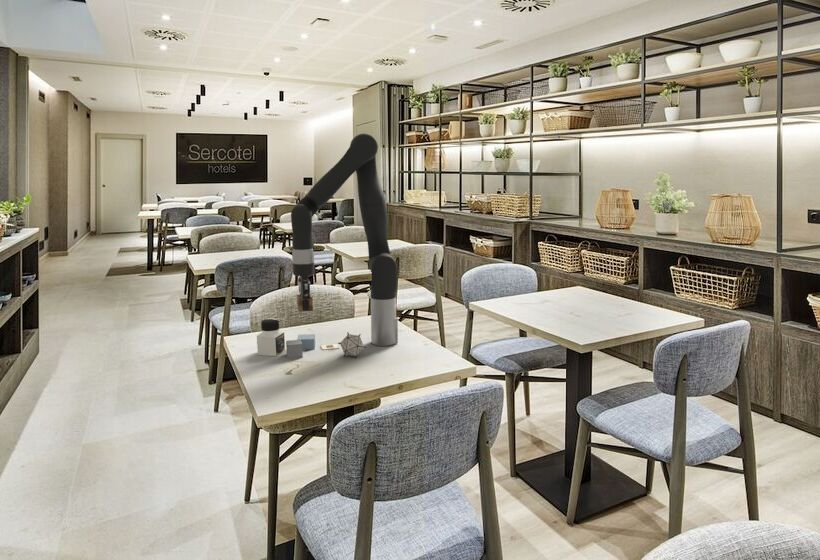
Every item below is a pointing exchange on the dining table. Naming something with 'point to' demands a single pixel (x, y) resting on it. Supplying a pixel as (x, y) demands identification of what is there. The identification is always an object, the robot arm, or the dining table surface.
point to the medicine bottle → (270, 338)
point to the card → (329, 346)
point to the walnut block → (299, 303)
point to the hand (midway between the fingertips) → (305, 308)
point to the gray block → (294, 349)
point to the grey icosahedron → (352, 345)
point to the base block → (307, 341)
